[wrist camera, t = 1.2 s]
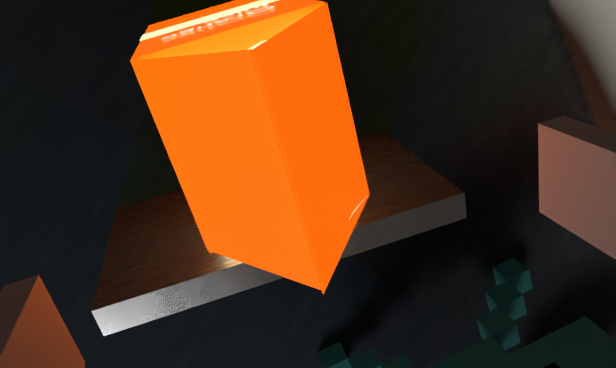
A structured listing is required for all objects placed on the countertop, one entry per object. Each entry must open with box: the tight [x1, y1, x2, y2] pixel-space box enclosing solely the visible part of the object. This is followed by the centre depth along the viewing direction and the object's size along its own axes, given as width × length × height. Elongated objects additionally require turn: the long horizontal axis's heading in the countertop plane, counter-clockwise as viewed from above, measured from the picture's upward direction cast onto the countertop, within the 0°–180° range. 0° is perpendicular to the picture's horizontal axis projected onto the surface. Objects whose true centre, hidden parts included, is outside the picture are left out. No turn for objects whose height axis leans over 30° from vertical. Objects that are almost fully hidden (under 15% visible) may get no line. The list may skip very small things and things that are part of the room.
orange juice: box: [130, 0, 370, 294], centre depth 24 cm, size 8×9×20 cm
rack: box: [92, 131, 467, 336], centre depth 26 cm, size 24×20×12 cm
